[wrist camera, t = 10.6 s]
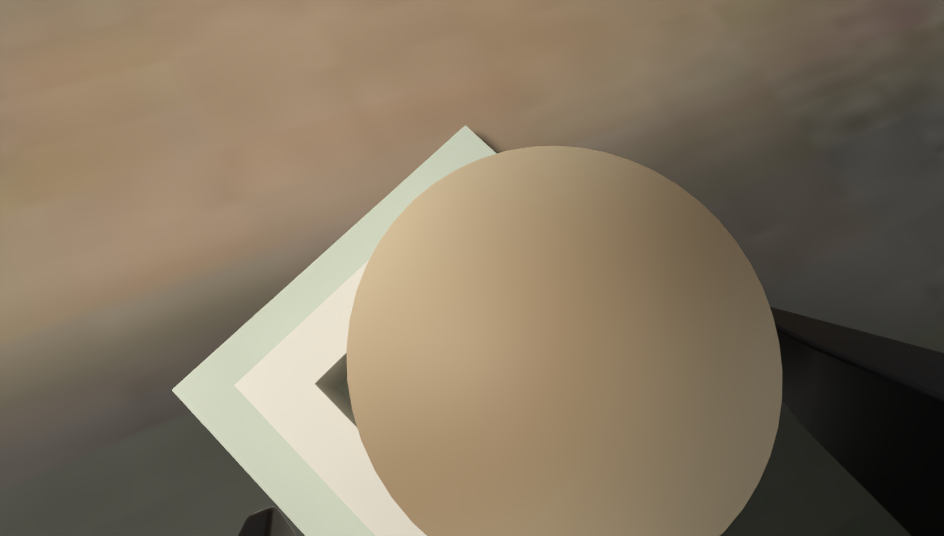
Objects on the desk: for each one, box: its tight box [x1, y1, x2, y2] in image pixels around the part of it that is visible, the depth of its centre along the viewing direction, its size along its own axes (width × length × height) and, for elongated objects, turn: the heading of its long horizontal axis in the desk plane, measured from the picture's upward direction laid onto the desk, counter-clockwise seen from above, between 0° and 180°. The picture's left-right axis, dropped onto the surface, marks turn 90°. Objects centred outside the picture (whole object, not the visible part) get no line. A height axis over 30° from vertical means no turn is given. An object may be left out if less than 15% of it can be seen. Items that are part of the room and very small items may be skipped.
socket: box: [172, 125, 497, 536], centre depth 16 cm, size 14×14×4 cm
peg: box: [346, 146, 782, 536], centre depth 11 cm, size 4×4×13 cm
